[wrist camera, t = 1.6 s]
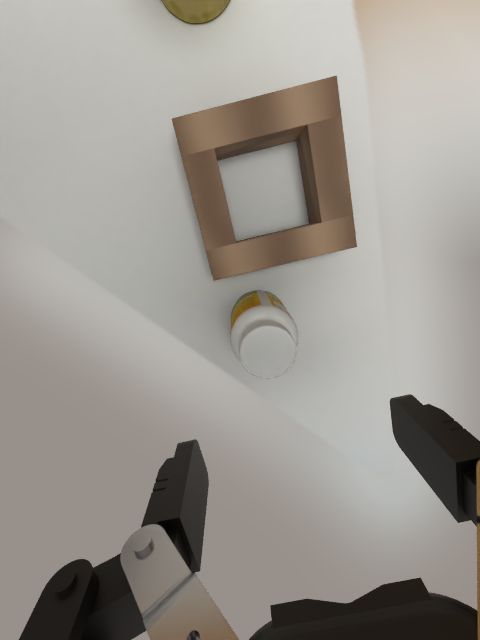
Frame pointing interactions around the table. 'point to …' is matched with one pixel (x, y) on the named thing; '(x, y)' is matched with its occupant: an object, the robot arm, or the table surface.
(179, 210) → the table surface
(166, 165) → the table surface
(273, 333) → the supplement bottle
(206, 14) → the vase
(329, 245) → the socket block
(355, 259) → the table surface
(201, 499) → the robot arm
